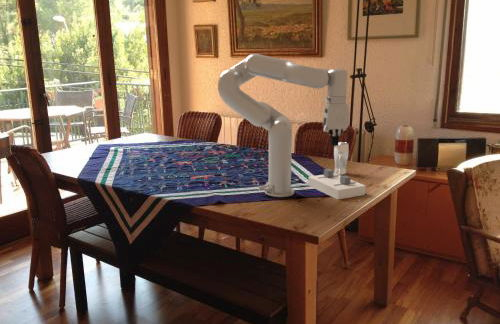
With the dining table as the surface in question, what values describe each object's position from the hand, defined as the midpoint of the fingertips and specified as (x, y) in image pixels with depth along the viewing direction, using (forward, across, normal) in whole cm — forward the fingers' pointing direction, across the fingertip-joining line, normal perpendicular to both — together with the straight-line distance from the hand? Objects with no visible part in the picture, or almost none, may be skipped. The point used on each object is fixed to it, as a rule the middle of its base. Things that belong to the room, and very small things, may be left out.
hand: (334, 145), depth 187 cm
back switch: (+17, +6, +12) cm, 21 cm away
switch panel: (+21, +5, +4) cm, 22 cm away
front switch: (+17, +6, 0) cm, 18 cm away
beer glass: (+21, +23, +26) cm, 40 cm away
